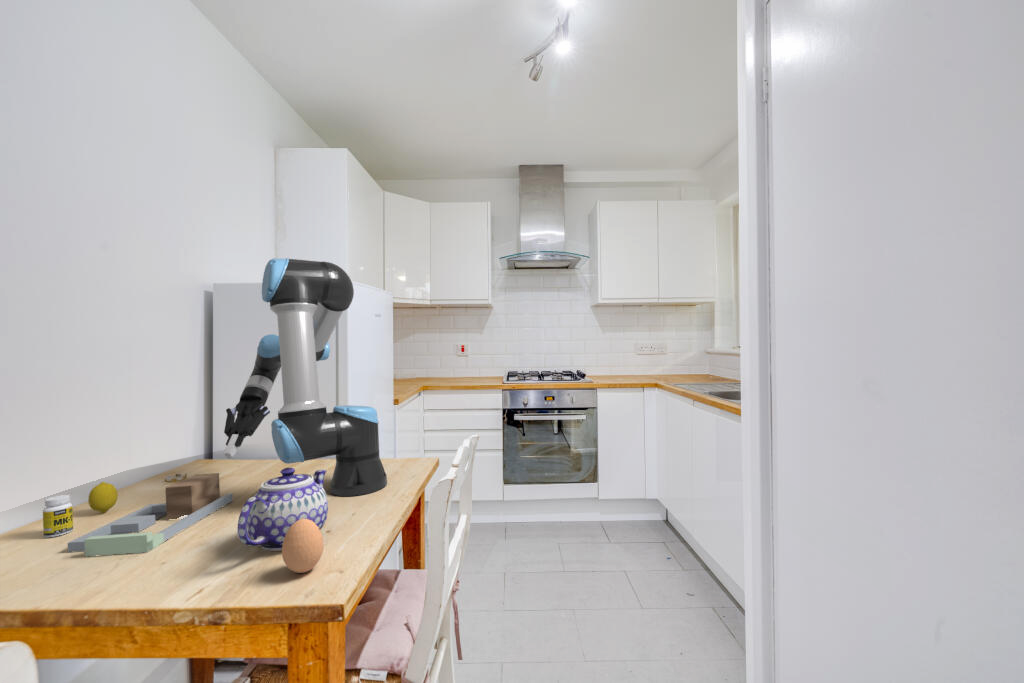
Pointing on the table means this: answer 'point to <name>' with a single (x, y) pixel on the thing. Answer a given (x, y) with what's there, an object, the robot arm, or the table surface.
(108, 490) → the lemon
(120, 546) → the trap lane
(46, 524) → the supplement bottle
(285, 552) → the egg
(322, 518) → the teapot
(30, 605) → the table surface
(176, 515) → the walnut block
